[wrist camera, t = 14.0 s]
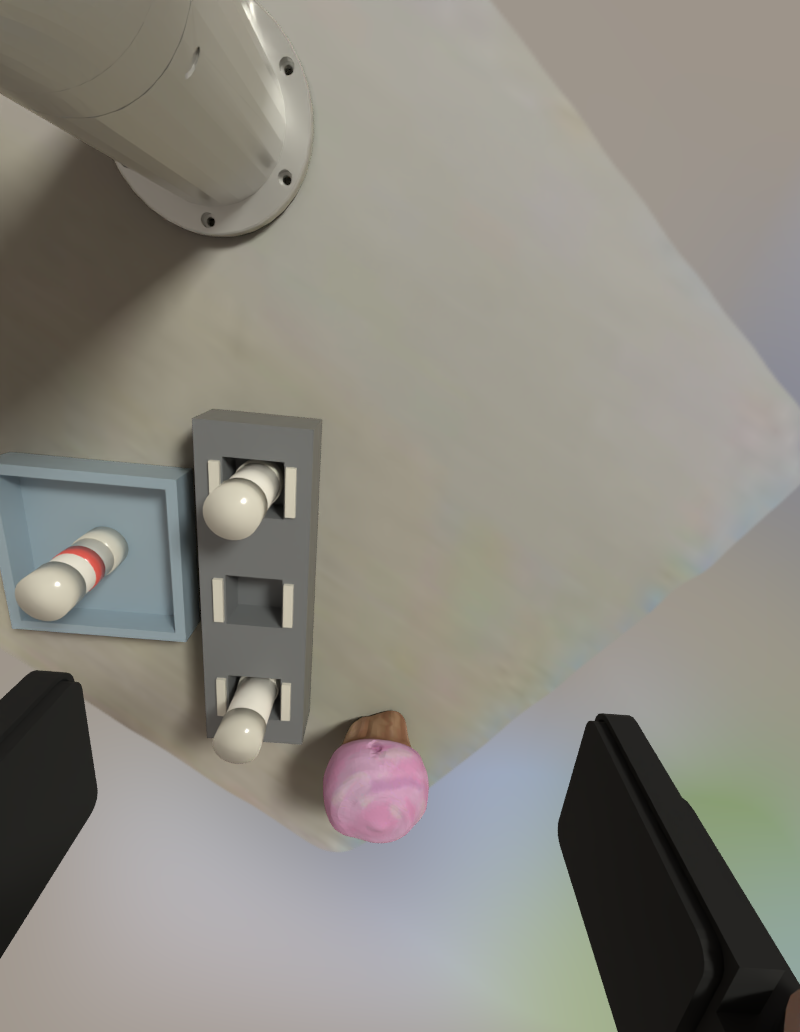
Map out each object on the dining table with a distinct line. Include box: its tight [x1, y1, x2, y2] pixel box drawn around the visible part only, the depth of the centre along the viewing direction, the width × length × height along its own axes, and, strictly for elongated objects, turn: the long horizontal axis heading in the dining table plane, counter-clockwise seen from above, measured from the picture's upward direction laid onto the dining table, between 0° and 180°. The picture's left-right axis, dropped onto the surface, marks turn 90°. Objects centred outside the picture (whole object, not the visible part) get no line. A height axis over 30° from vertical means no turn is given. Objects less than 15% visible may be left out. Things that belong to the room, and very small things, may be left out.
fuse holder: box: [192, 409, 322, 745], centre depth 40 cm, size 27×8×4 cm, turn 174°
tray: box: [0, 452, 200, 642], centre depth 40 cm, size 14×14×3 cm
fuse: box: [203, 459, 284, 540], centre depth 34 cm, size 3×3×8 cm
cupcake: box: [323, 711, 429, 843], centre depth 43 cm, size 9×9×10 cm
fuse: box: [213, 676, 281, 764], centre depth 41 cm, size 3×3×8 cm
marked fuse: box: [15, 526, 128, 621], centre depth 37 cm, size 3×3×8 cm
